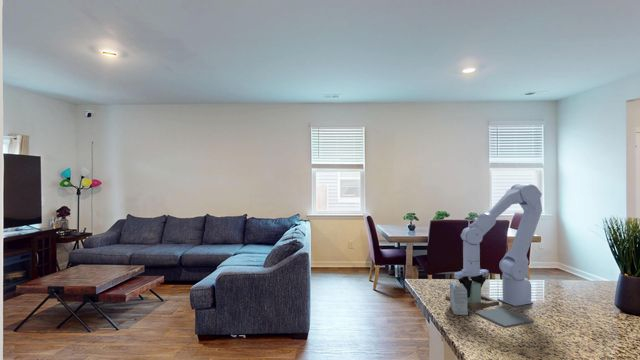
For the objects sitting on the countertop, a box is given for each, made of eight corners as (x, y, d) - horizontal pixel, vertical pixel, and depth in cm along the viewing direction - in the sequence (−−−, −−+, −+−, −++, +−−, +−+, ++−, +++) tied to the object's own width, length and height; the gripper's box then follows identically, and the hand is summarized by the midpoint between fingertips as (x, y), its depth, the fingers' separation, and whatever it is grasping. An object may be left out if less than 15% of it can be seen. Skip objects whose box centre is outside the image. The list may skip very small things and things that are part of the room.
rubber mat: (502, 308, 121) (502, 307, 121) (533, 321, 110) (533, 320, 110) (475, 313, 117) (475, 312, 117) (505, 327, 106) (504, 325, 106)
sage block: (470, 298, 132) (470, 280, 132) (481, 302, 128) (480, 283, 128) (462, 299, 131) (462, 281, 131) (472, 304, 126) (472, 284, 126)
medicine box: (467, 315, 116) (467, 289, 116) (453, 314, 116) (453, 289, 116) (462, 307, 123) (462, 283, 123) (449, 306, 124) (449, 282, 124)
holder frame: (474, 294, 137) (474, 291, 137) (499, 304, 126) (499, 301, 126) (445, 298, 133) (445, 295, 133) (468, 309, 121) (468, 306, 121)
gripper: (478, 256, 136) (478, 290, 136) (448, 259, 131) (448, 294, 131) (492, 259, 129) (493, 296, 129) (461, 263, 124) (462, 301, 124)
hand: (471, 296), depth 129 cm, fingers closed on sage block, 4 cm apart
